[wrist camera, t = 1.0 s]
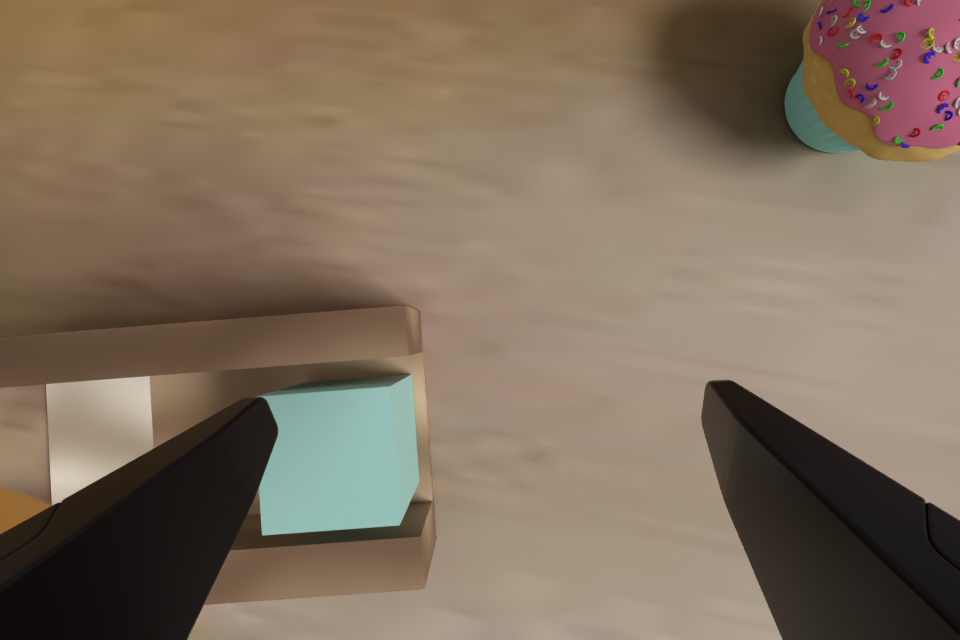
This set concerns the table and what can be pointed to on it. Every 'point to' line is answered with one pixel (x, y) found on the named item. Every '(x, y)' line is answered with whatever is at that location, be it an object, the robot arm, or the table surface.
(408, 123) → the table surface
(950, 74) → the cupcake
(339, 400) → the teal block
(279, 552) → the chute
